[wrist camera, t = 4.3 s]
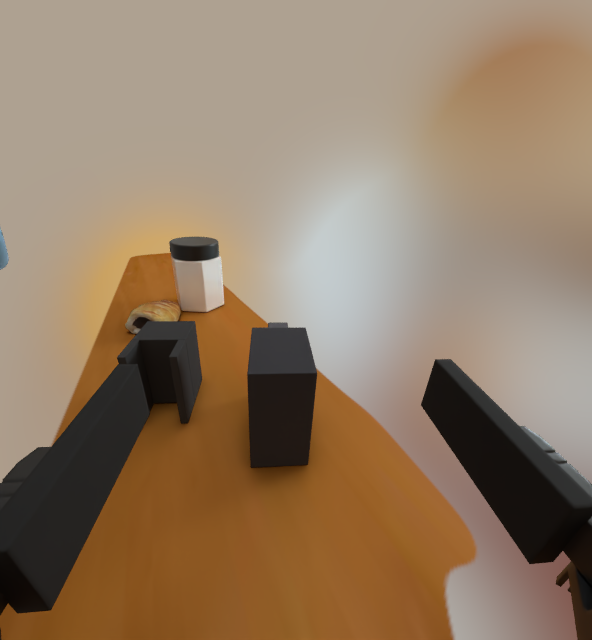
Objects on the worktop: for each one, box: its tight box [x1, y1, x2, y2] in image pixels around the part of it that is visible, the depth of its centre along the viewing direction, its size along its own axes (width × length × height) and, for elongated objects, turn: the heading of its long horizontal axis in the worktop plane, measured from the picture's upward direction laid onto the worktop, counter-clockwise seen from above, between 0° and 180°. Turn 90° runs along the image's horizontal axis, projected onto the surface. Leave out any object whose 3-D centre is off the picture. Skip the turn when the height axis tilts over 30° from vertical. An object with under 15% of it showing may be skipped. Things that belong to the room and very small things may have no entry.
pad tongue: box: [247, 323, 317, 468], centre depth 27 cm, size 10×5×10 cm, turn 5°
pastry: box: [125, 300, 181, 334], centre depth 46 cm, size 9×7×4 cm
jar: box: [170, 237, 224, 312], centre depth 52 cm, size 9×8×12 cm
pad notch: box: [117, 321, 202, 423], centre depth 29 cm, size 7×5×8 cm
